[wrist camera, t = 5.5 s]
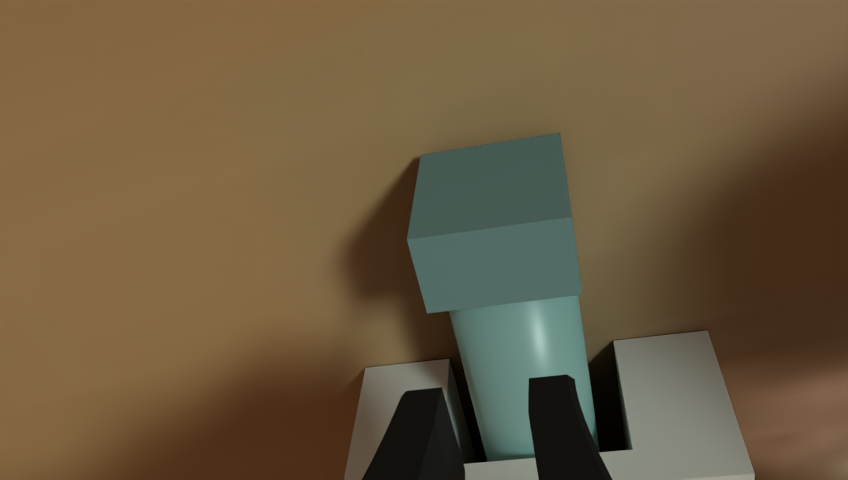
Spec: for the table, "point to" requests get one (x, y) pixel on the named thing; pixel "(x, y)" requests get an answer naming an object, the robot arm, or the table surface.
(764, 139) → the table surface
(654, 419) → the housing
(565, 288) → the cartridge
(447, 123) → the table surface
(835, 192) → the table surface
